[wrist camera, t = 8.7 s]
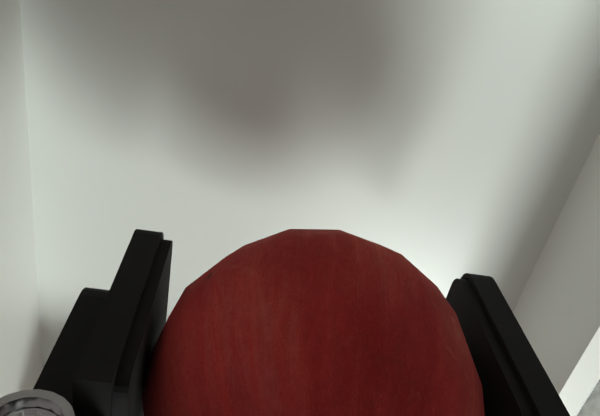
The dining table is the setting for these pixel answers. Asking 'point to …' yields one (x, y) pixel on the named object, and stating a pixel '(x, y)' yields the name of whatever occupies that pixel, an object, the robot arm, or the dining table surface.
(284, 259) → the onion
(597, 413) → the dining table surface
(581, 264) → the bin
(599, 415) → the dining table surface
